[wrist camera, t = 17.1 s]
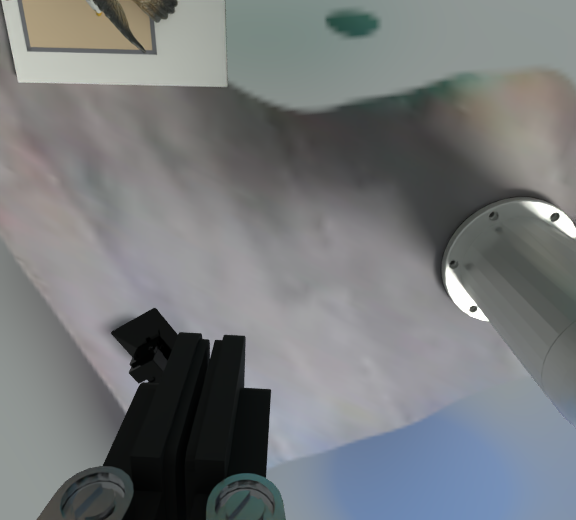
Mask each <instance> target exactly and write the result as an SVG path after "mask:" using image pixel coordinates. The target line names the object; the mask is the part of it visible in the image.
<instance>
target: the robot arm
mask: <svg viewBox="0 0 576 520" xmlns="http://www.w3.org/2000/svg"><path fill="white" fill-rule="evenodd" d="M491 213H492V214H491ZM490 214H491V215H490ZM451 261H452V262H451ZM442 279H443V284H444V287H445V289H446V291H447V293H448V295H449V297H450V298H451V299H452V301H453V302H454V304H455V305H456V306H457V307H458V308H459V309H460V310H462V311H463V312H464V313H466V314H467V315H469V316H472V317H474V318H477V319H479V320H484V321H489V322H490V323H491V325H492V326H493V327H494V329H495V330H496V331H497V332H498V334H499V335H500V336H501V338H502V339H503V340H504V342H505V343H506V344H507V345H508V347H509V348H510V349H511V351H512V352H513V353H514V355H515V356H516V357H517V358H518V360H519V361H520V362H521V364H522V365H523V366H524V368H525V369H526V370H527V371H528V373H529V374H530V375H531V377H532V378H533V379H534V381H535V382H536V383H537V384H538V386H539V387H540V388H541V389H542V391H543V392H544V394H545V395H546V396H547V397H548V398H549V400H550V401H551V402H552V404H553V405H554V406H555V407H556V409H557V410H558V411H559V413H561V415H562V416H563V417H564V418H565V419H566V420H567V421H568V422H569V423H570V424H572V425H573V426H574V427H575V428H576V227H575V225H574V223H573V221H572V220H571V219H570V218H569V217H568V216H567V215H566V214H565V213H564V212H563V211H562V210H561V209H559V208H557V207H556V206H554V205H552V204H550V203H548V202H546V201H544V200H540V199H535V198H531V197H515V198H509V199H503V200H500V201H497V202H495V203H492V204H489V205H487V206H486V207H484V208H482V209H480V210H478V211H477V212H475V213H474V214H473V215H471V216H470V217H469V218H467V219H466V220H465V221H464V222H463V223H462V224H461V226H460V227H459V228H458V229H457V230H456V231H455V233H454V234H453V236H452V237H451V239H450V240H449V243H448V245H447V247H446V249H445V252H444V256H443V260H442ZM244 373H245V336H237V335H224V337H223V340H215V342H214V346H213V350H212V354H211V358H210V342H209V340H207V339H202V334H201V333H184V332H180V333H179V334H178V336H177V339H176V341H175V344H174V346H173V349H172V351H171V354H170V356H169V359H168V361H167V364H166V367H165V369H164V372H163V374H162V377H161V379H160V382H159V383H144V382H143V383H141V384H140V386H139V387H138V389H137V391H136V394H135V396H134V398H133V400H132V402H131V405H130V407H129V409H128V411H127V413H126V416H125V418H124V420H123V422H122V425H121V427H120V429H119V431H118V434H117V436H116V438H115V440H114V442H113V444H112V447H111V449H110V451H109V453H108V455H107V458H106V460H105V462H104V464H103V466H99V467H94V468H89V469H86V470H84V471H81V472H79V473H77V474H76V475H74V476H72V477H71V478H70V479H68V480H67V481H66V482H65V483H64V484H63V485H62V486H61V487H60V488H59V489H58V490H57V492H56V493H55V495H54V496H53V497H52V499H51V500H50V501H49V503H48V504H47V506H46V507H45V508H44V510H43V511H42V513H41V514H40V516H39V517H38V518H37V520H286V518H285V512H284V505H283V500H282V497H281V494H280V492H279V490H278V489H277V487H276V486H275V485H274V484H273V483H272V482H271V481H269V480H268V479H266V466H267V449H268V432H269V415H270V398H271V389H255V388H244Z"/></svg>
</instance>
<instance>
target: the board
mask: <svg viewBox="0 0 576 520" xmlns="http://www.w3.org/2000/svg"><path fill="white" fill-rule="evenodd" d="M1 1H2V6H3V11H4V16H5V20H6V25H7V30H8V35H9V40H10V45H11V50H12V54H13V59H14V64H15V69H16V74H17V79H18V82H27V83H71V84H116V85H160V86H204V87H227V86H228V78H227V45H226V44H227V43H226V9H225V0H177V1H178V5H177V6H176V7H175V13H173V14H168V18H167V19H166V20H165V19H161V20H160V22H159V23H156V22H155V21H154V20H152V19H151V18H150V17H149V16H148V15H147V14H146V13H144V12H143V11H142V9H141V8H140V7H139V6H138V5H137V4H136V3H135V2H133V1H132V0H118V2H119V3H120V4H121V6H122V8H123V10H124V12H125V15H126V19H127V21H128V24H129V28H130V30H131V32H132V34H133V36H134V37H135V38H136V40H137V41H138V42H139V43H140V44H141V45H142V46H143V48H144V49H145V51H146V54H145V53H143V52H142V51H141V50H139V48H137V47H136V46H135V45H134V44H132V43H131V42H130V41H129V40H128V39H127V38H125V37H124V36H123V34H122V33H121V32H120V31H119V30H118V29H117V28H116V27H115V26H114V24H113V23H112V22H111V21H110V20H109V18H107V17H106V16H105V14H104V12H102V14H101V16H97V15H96V11H94V10H93V9H92V8H91V7H90V5H89V4H88V3H87V2H86V0H8V1H7V0H1Z"/></svg>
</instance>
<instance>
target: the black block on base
mask: <svg viewBox="0 0 576 520" xmlns="http://www.w3.org/2000/svg"><path fill="white" fill-rule="evenodd" d="M111 334H112V335H113V336H114V337H115V338H116V339H117V341H118V342H119V343H120V344H121V345H122V346H123V347H124V348H125V349H126V350H127V352H128V353H129V354H130V355H131V356H132V360H131V362H130V366H131V369H130V371H129V374H130V375H131V376H132V377H133V378H134V379H135V380H136V381H137V382H138V383H141V382H143V381H145V380H148V381H149V382H148V383H159V382H160V379H161V377H162V374H163V372H164V369H165V367H166V364H167V361H168V359H169V356H170V354H171V351H172V349H173V346H174V344H175V341H176V339H177V336H178V335H177V333H176V332H175V331H174V330H173V328H172V327H171V326H170V325H169V324H168V322H167V321H166V320H165V319H164V318H163V316H162V315H161V314H160V313H159V311H158V310H157V309H156V308H153V309H151V310H149V311H148V312H146V313H144V314H142V315H141V316H139V317H137V318H135V319H133V320H132V321H130V322H128V323H126V324H125V325H123V326H121V327H119V328H117V329H116V330H114V331H112V332H111Z"/></svg>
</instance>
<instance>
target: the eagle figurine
mask: <svg viewBox="0 0 576 520" xmlns="http://www.w3.org/2000/svg"><path fill="white" fill-rule="evenodd" d="M7 1H8V0H7ZM132 1H133V2H135V3H136V4H137V5H138V6H139V7H140V8H141V9H142V11H143V12H144V13H146V14H147V15H148V16H149V17H150V18H151V19H152V20H154V21H155V22H156V23H159V22H160V20H161V19H165V20H166V19H167V18H168V14H173V13H175V7H176V6H177V5H178V1H177V0H132ZM86 2H87V3H88V4H89V5H90V7H91V8H92V9H93V10H94V11H96V15H97V16H101V14H102V12H104V14H105V16H106V17H107V18H109V20H110V21H111V22H112V23H113V24H114V26H115V27H116V28H117V29H118V30H119V31H120V32H121V33H122V34H123V36H124V37H125V38H127V39H128V40H129V41H130V42H131V43H132V44H134V45H135V46H136V47H137V48H139V50H141V51H142V52H143V53H145V54H146V51H145V49H144V48H143V46H142V45H141V44H140V43H139V42H138V41H137V40H136V38H135V37H134V36H133V34H132V32H131V30H130V28H129V24H128V21H127V19H126V15H125V12H124V10H123V8H122V6H121V4H120V3H119V2H118V0H86Z"/></svg>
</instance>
